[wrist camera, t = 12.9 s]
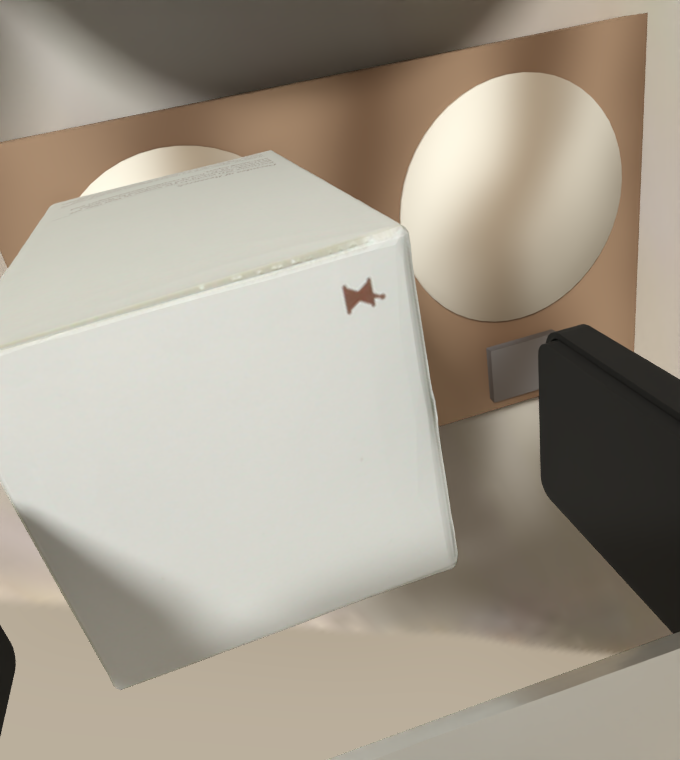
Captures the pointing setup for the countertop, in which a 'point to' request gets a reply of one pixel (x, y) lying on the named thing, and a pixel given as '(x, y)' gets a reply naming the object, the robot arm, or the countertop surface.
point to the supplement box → (219, 410)
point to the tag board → (428, 184)
